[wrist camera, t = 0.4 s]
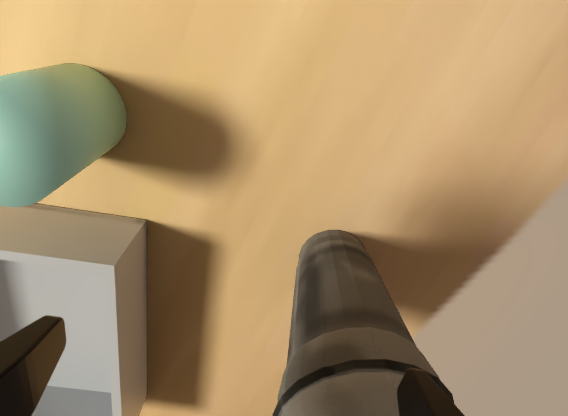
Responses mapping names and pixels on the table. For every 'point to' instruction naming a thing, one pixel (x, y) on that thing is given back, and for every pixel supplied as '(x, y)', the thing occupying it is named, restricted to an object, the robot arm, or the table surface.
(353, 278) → the beverage cup
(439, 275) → the table surface
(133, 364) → the tote
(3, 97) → the teal cylinder
